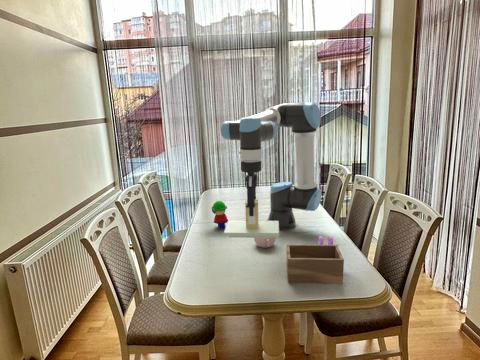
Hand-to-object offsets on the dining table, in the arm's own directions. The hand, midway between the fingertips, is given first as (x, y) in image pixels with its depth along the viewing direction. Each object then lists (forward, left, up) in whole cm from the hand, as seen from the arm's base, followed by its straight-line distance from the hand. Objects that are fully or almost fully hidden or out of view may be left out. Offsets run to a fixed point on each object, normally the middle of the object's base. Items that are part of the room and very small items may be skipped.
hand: (252, 221), depth 128 cm
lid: (0, 0, -5) cm, 5 cm away
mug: (-26, +4, -22) cm, 34 cm away
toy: (-49, -21, -22) cm, 57 cm away
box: (0, +23, -22) cm, 32 cm away
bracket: (-17, +31, -22) cm, 42 cm away
